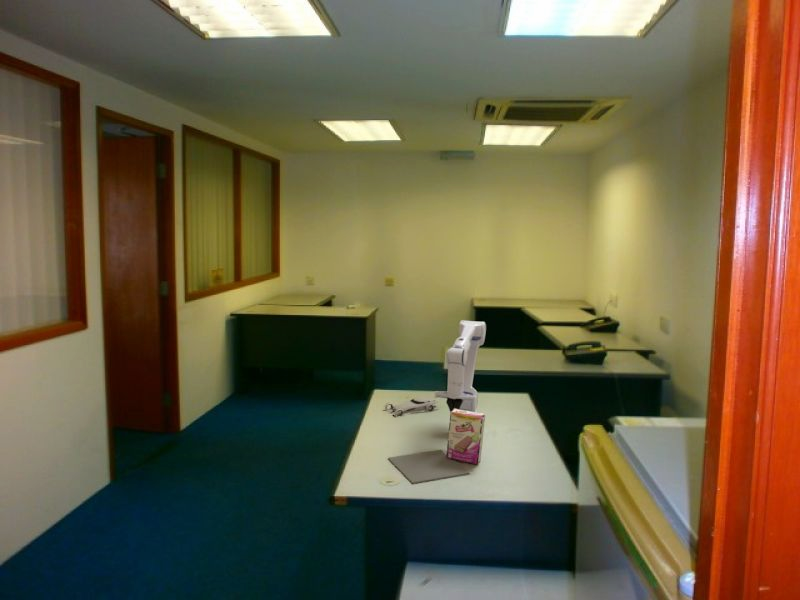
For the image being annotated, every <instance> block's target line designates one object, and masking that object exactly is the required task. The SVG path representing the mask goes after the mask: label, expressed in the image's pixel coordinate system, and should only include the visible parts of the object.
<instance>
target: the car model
mask: <svg viewBox="0 0 800 600" xmlns="http://www.w3.org/2000/svg"><path fill="white" fill-rule="evenodd" d="M439 402H440V400H439V399H437V398H435V397H434V398H433V397H428V396H427V397H425V396H424V397H423V396H421V397H420V396H419V397H414V398H411V399H409V400H406V401H403V402H400V403H398V404H396V405H393V403H392V402H387V403H385V405H384V409H385V412H386V413H387V412H388V413H387V414H392V415H394V416H393V417H396V416H400V417H404V416H406V415H405V414H408V415H412V414H413V413H414V414H420V413H432V412H435V411H436V410H438V409H439V407H438V406H436V405H435V404H438V403H439ZM388 406H390V408H388ZM392 415H391V416H392ZM403 415H404V416H403Z"/></svg>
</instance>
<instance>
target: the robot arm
mask: <svg viewBox="0 0 800 600" xmlns="http://www.w3.org/2000/svg"><path fill="white" fill-rule="evenodd" d="M486 332H487V324H486V322H485V321H474V320H473V321H472V320H464V319H462V320H460V322H459V325H458V334H459V337H457V338H456V339H455V341H454V343H453V345H452V346H451V347H450V348H448V349H447V351H446V368H447V390H446V391H443V390H440V391H439V390H436V391H434V399H437V398H440V399H442V398H443V399H446V402H445V403H446V404H447V406H448V409H449V410H448V411H449V413H451V411H452V410H453V409H460V410H465V411H471V412H476V413H479V412H478V404H479V400H478V399H479V393H478V391H477V390H476V389H475V388H474V387H473V383H474V382H473V381H474V376H475V370H476V369H475V368H476V364H477V363H476V362H477V355H478V351H479V347H480V346H483V345H484V343H485V339H486Z"/></svg>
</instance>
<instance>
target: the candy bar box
mask: <svg viewBox="0 0 800 600" xmlns="http://www.w3.org/2000/svg"><path fill="white" fill-rule="evenodd" d="M449 413H450V412H449ZM449 416H450V417H449V424H448V425H449V426H448V427H449V428H448V436H447V445H446V454H447V455H446V458H448V459H453V460H454V461H458V462H463V463H469V464H474V465H479V463H480V462H481V459H482V450H483V441H484V440H483V439H484V431H485V430H484V429H485V421H486V414H485V413H481V412H478V413H476V412H471V411H465V410H460V409H453V410H452V411H451V413H450V414H449Z"/></svg>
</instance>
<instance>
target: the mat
mask: <svg viewBox="0 0 800 600" xmlns="http://www.w3.org/2000/svg"><path fill="white" fill-rule="evenodd" d="M446 455H447V452H445V451H443V450H442V449H436V450H431V451H430V450H429V451H423V452H417V453H415V452H414V453H411V454H405V455H404V454H403V455H398V456H392V457H391V456H390V457H387V460H388V461H389V460H390V461H391V462H392V463H391V462H390V461H389V462H390V463H391V464H392V465H393V466H394V465H395V466H394V467H395V468H396V469H397V470H398V471H399V472H400V473H401V474H402V475H403V476H404V477H405V478H406V479H407V480H408V481H409V483H410V484H412V485H416V484H421V483H427V482H433V481H439V480H443V479H450V478H454V477H456V478H457V477H461V476H466V475H470V473H471V472H470V471H468V470H467V469H466V468H465V467H463V466H462V465H461V464H460V463H458V462H457V460H453V459H448V458H446Z"/></svg>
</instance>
